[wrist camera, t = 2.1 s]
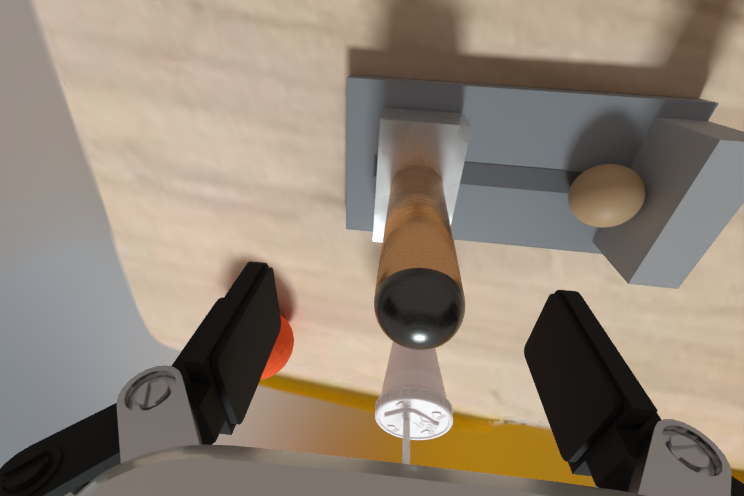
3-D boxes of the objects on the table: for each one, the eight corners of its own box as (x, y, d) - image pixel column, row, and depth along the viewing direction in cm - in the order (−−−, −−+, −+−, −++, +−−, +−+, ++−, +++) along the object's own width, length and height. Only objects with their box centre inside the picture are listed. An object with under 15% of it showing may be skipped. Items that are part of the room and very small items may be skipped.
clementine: (258, 347, 39) (230, 403, 33) (219, 307, 35) (181, 362, 30) (313, 331, 36) (294, 389, 30) (278, 286, 33) (248, 342, 27)
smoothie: (390, 301, 32) (377, 452, 21) (452, 315, 32) (474, 472, 21) (377, 343, 36) (361, 491, 24) (434, 354, 36) (444, 507, 24)
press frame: (699, 98, 20) (804, 122, 15) (616, 245, 26) (668, 300, 21) (350, 74, 21) (330, 89, 16) (349, 220, 28) (333, 265, 22)
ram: (463, 113, 20) (544, 239, 8) (442, 224, 25) (471, 416, 12) (384, 107, 21) (341, 220, 8) (377, 217, 25) (342, 400, 13)
